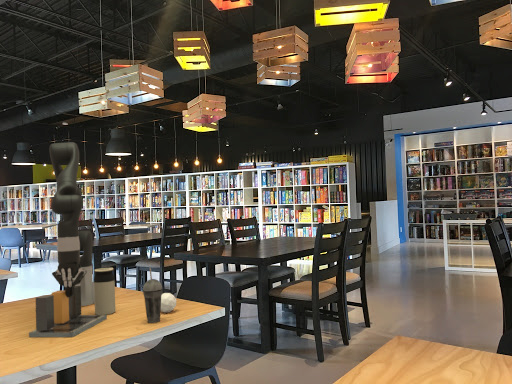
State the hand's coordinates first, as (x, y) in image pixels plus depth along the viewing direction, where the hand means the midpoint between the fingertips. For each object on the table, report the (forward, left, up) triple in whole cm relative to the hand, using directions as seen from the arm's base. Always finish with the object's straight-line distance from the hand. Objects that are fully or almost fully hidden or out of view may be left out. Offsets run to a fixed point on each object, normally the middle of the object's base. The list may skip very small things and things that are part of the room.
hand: (70, 296), depth 154 cm
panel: (0, 0, -11) cm, 11 cm away
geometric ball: (-33, +14, -11) cm, 37 cm away
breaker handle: (+2, -3, -9) cm, 10 cm away
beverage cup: (-21, +21, -11) cm, 32 cm away
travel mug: (-19, -8, -11) cm, 23 cm away
